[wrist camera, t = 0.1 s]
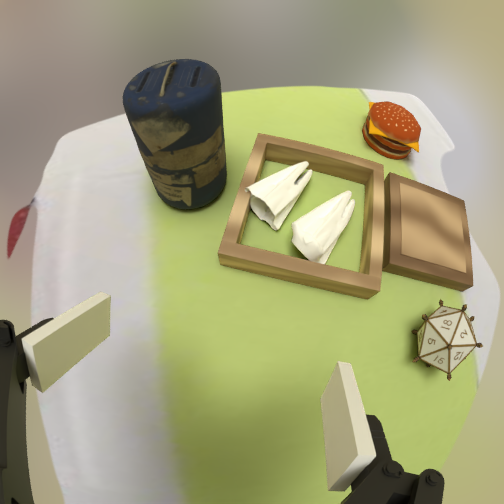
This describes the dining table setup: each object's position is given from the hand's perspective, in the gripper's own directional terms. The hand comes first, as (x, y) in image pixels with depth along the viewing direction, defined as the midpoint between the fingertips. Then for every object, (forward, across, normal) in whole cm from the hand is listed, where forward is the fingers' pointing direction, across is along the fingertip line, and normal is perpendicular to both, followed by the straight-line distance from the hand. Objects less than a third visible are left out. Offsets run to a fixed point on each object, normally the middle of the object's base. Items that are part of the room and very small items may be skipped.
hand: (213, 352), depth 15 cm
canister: (+24, +11, -7) cm, 28 cm away
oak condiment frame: (+24, -5, -7) cm, 25 cm away
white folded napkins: (+24, -5, -7) cm, 25 cm away
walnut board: (+25, -22, -9) cm, 34 cm away
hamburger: (+35, -16, -22) cm, 44 cm away
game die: (+16, -23, +4) cm, 29 cm away
